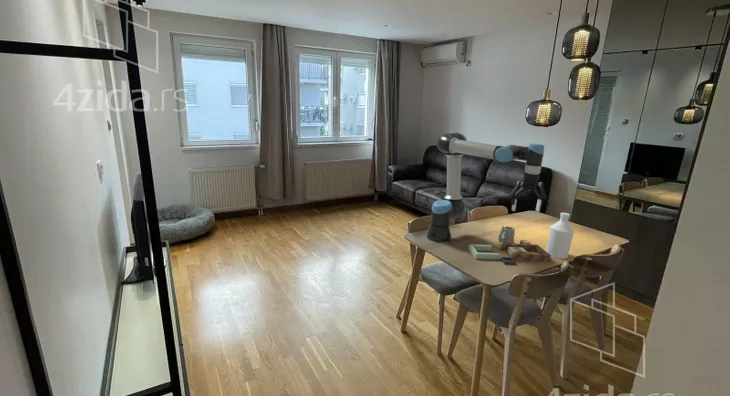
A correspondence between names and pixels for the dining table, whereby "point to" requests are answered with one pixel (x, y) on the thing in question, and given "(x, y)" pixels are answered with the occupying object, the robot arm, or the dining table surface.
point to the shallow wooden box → (540, 256)
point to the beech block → (516, 250)
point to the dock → (477, 255)
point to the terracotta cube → (524, 242)
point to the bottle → (560, 238)
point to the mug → (507, 235)
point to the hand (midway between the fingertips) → (525, 210)
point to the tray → (507, 260)
